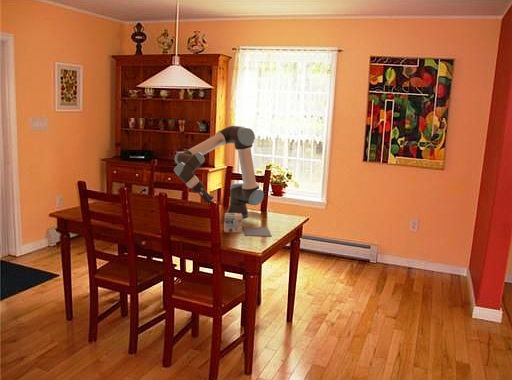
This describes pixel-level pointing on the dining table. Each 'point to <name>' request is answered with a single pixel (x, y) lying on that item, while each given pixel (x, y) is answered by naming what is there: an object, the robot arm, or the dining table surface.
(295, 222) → the dining table surface
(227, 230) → the light bulb box
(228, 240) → the dining table surface
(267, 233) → the mat
